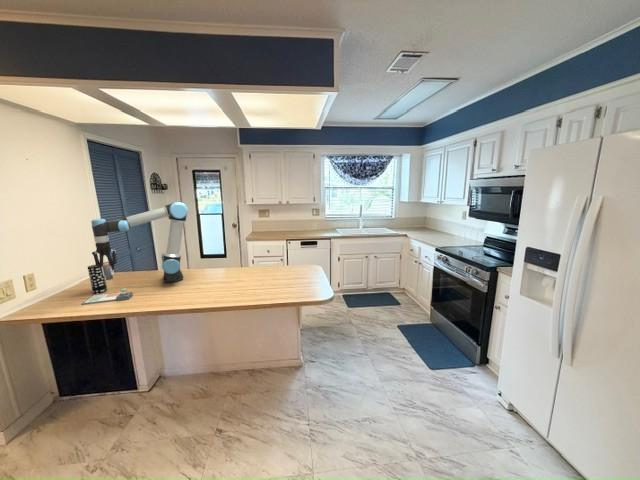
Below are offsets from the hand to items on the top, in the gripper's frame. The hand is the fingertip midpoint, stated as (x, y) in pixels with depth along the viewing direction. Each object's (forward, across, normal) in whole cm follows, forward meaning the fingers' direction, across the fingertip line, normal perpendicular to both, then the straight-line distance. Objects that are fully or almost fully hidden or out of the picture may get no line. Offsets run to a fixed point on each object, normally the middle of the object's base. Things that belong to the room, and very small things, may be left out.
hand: (108, 274), depth 185 cm
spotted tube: (+16, +13, -13) cm, 24 cm away
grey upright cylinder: (+3, 0, 0) cm, 3 cm away
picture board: (+16, +4, +2) cm, 17 cm away
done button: (+14, -10, +7) cm, 18 cm away
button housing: (+16, -10, +8) cm, 20 cm away
